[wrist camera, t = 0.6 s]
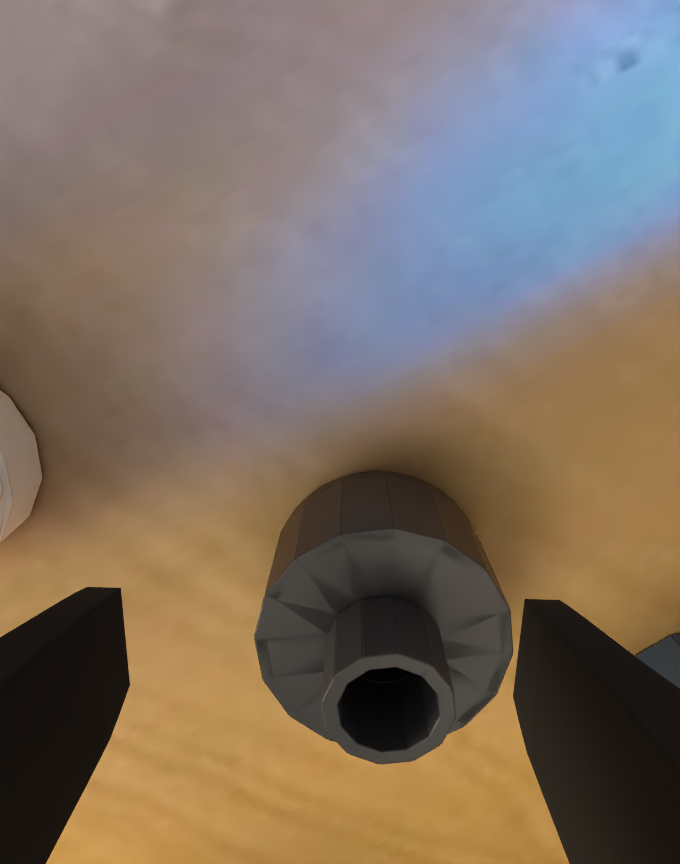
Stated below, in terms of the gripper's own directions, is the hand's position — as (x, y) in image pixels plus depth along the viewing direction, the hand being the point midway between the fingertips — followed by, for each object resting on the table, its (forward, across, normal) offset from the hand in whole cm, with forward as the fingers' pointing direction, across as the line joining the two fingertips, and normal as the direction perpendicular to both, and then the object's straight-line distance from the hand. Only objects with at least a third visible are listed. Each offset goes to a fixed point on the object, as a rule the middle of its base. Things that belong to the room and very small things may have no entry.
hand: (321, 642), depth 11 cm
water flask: (+10, -2, +4) cm, 11 cm away
